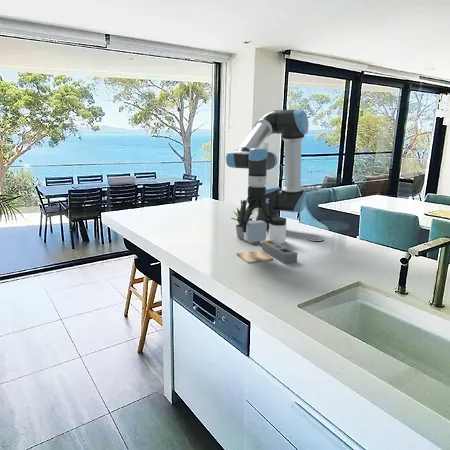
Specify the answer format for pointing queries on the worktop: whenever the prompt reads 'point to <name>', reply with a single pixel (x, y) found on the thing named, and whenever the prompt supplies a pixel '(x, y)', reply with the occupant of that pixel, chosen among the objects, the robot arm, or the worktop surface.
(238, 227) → the house plant
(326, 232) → the worktop surface
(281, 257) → the power strip
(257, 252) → the tan flat square block
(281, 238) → the jar
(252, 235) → the block
